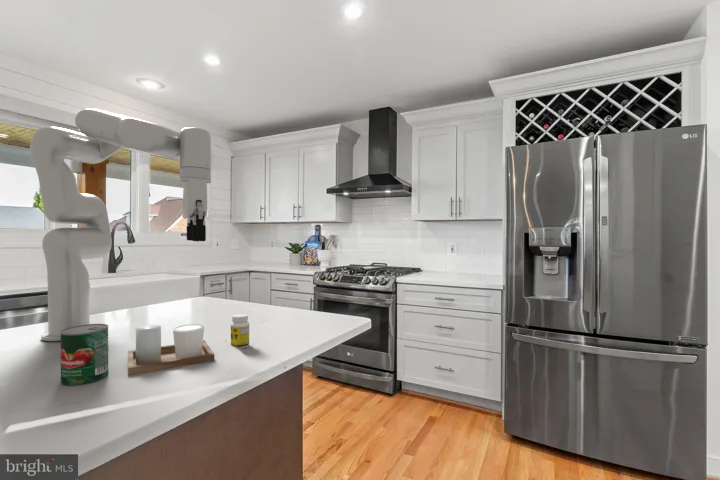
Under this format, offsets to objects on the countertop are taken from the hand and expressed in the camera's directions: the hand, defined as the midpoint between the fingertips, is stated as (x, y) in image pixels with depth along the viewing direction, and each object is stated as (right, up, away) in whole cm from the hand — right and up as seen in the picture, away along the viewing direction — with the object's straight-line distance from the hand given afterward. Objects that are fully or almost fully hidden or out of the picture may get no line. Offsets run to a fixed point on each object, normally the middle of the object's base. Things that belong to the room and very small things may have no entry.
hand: (195, 240), depth 99 cm
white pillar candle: (-5, -28, -14) cm, 31 cm away
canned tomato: (-12, -29, -23) cm, 39 cm away
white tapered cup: (+3, -28, -10) cm, 30 cm away
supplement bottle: (+12, -29, +1) cm, 31 cm away
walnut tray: (-1, -29, -12) cm, 31 cm away
